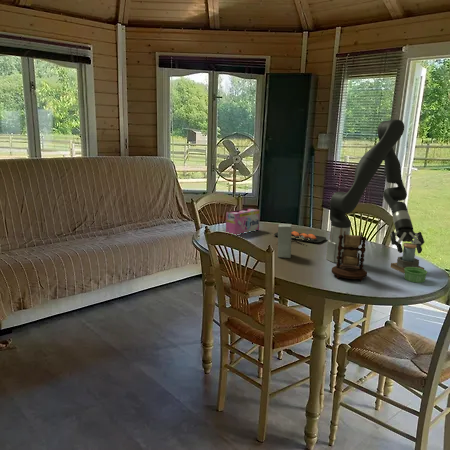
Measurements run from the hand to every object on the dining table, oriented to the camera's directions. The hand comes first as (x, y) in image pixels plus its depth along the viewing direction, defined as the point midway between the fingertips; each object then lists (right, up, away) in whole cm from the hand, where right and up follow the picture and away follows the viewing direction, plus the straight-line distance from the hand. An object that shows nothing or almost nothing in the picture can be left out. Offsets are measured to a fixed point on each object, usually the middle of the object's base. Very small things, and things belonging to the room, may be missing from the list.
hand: (410, 252), depth 184 cm
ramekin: (-3, -11, -9) cm, 15 cm away
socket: (0, -8, +3) cm, 9 cm away
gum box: (-73, +8, +67) cm, 99 cm away
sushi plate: (-44, +3, +50) cm, 66 cm away
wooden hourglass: (-30, -10, -8) cm, 33 cm away
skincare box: (-54, -3, +20) cm, 58 cm away
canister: (0, -6, +3) cm, 7 cm away
